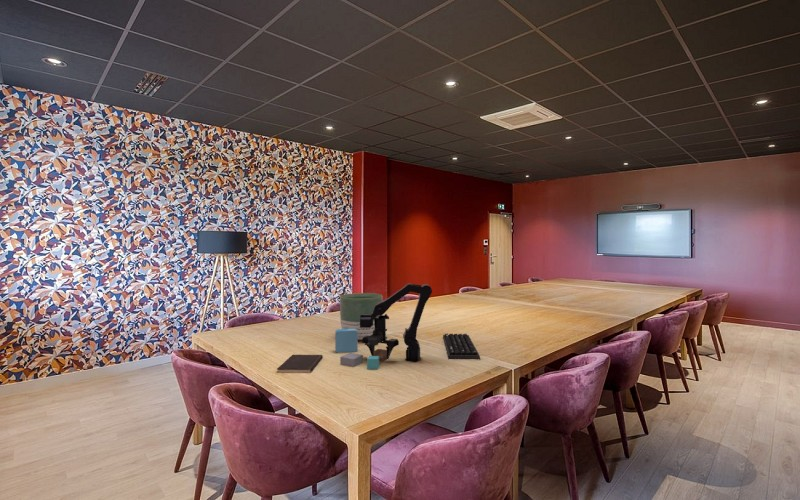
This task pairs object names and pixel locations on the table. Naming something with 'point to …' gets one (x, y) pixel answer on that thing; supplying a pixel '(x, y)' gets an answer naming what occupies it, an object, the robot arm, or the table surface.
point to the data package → (346, 340)
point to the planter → (358, 311)
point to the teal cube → (373, 362)
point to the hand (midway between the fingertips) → (380, 358)
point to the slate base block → (351, 359)
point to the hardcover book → (300, 363)
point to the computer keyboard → (460, 347)
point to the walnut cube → (381, 354)
